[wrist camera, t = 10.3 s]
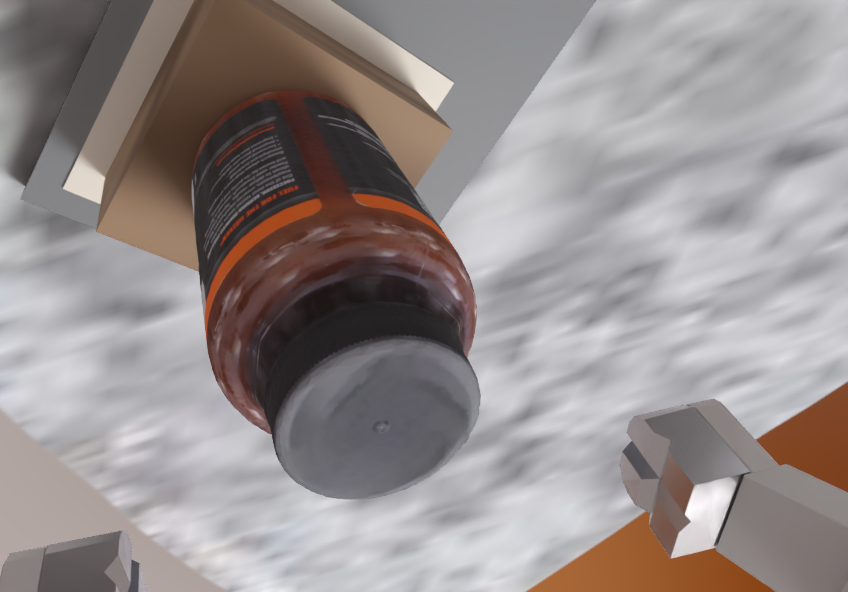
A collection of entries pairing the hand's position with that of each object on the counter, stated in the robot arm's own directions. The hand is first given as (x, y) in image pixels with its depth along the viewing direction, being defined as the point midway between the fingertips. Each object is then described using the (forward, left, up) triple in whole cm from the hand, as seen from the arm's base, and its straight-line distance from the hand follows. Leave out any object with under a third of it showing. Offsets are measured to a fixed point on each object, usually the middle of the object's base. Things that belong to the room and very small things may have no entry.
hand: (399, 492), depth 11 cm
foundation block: (0, 0, -17) cm, 17 cm away
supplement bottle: (0, 0, -13) cm, 13 cm away
